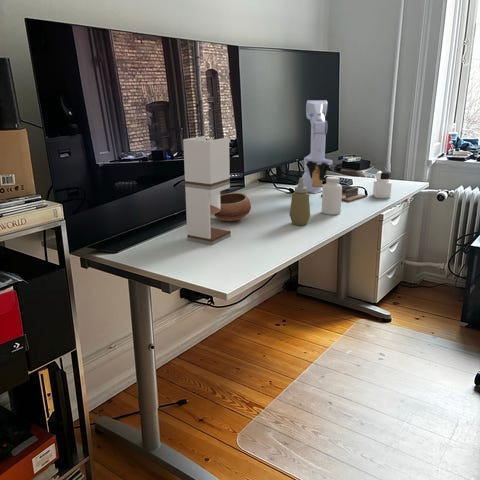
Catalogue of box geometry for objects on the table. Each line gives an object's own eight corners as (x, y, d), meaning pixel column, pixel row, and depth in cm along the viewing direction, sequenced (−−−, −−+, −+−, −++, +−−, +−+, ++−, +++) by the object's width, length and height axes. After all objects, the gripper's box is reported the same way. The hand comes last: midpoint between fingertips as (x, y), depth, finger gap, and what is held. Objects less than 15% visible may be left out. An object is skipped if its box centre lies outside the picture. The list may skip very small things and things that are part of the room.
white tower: (212, 245, 166) (209, 141, 155) (187, 240, 171) (183, 139, 160) (230, 236, 175) (229, 137, 164) (206, 231, 180) (203, 136, 170)
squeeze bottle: (311, 221, 192) (313, 176, 187) (307, 227, 185) (309, 180, 180) (291, 220, 195) (293, 175, 189) (287, 225, 188) (288, 179, 182)
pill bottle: (342, 211, 207) (344, 176, 202) (337, 216, 200) (340, 180, 196) (324, 209, 210) (326, 175, 206) (319, 214, 203) (320, 178, 199)
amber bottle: (309, 186, 223) (310, 164, 219) (315, 184, 226) (316, 163, 223) (317, 187, 219) (318, 165, 216) (323, 186, 222) (325, 164, 219)
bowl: (203, 221, 195) (203, 196, 191) (228, 212, 206) (227, 189, 203) (234, 227, 185) (234, 202, 182) (258, 218, 197) (258, 194, 194)
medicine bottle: (387, 194, 237) (389, 170, 233) (390, 198, 230) (392, 172, 226) (372, 194, 237) (374, 170, 234) (375, 197, 231) (377, 172, 227)
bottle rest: (321, 196, 233) (321, 187, 232) (338, 192, 243) (338, 183, 241) (349, 202, 222) (350, 192, 221) (366, 197, 232) (366, 187, 230)
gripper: (300, 148, 220) (299, 178, 224) (326, 151, 210) (324, 182, 214) (309, 146, 224) (308, 175, 228) (336, 149, 214) (334, 180, 219)
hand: (317, 179), depth 222 cm, fingers closed on amber bottle, 5 cm apart
